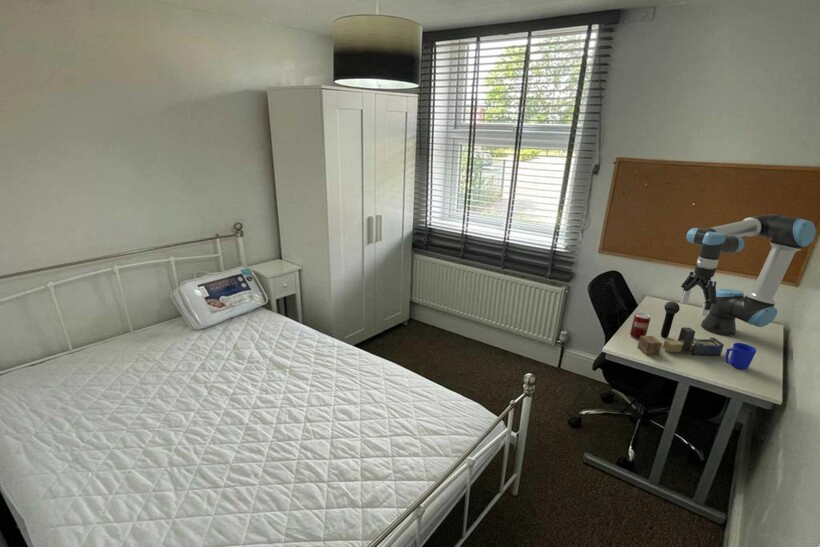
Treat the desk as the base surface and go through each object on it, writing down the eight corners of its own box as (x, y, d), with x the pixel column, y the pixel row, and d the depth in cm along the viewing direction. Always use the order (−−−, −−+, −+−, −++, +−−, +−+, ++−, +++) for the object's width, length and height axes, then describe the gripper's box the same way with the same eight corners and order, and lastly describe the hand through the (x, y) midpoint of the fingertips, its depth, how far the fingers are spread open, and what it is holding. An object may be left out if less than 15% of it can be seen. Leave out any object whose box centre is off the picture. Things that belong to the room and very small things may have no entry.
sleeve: (710, 349, 197) (713, 337, 195) (720, 356, 191) (724, 344, 189) (684, 348, 197) (687, 337, 195) (693, 355, 191) (697, 343, 188)
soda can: (647, 340, 203) (652, 319, 199) (632, 339, 205) (637, 317, 201) (642, 334, 210) (647, 313, 206) (627, 332, 211) (632, 311, 207)
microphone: (661, 333, 212) (670, 298, 205) (674, 338, 206) (684, 303, 200) (653, 335, 209) (663, 300, 202) (666, 341, 204) (676, 305, 197)
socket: (650, 347, 197) (653, 335, 194) (658, 355, 190) (662, 343, 188) (637, 347, 196) (640, 335, 194) (645, 355, 190) (648, 342, 188)
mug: (714, 361, 186) (721, 342, 183) (738, 361, 187) (745, 342, 184) (729, 371, 178) (736, 352, 175) (754, 371, 179) (761, 351, 176)
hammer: (711, 348, 195) (718, 328, 192) (717, 352, 192) (724, 332, 188) (662, 347, 195) (668, 327, 191) (667, 351, 191) (673, 331, 187)
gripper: (679, 257, 191) (669, 298, 198) (718, 275, 167) (704, 321, 174) (695, 258, 191) (683, 299, 198) (735, 276, 167) (721, 321, 175)
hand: (693, 309), depth 186 cm, fingers open, 13 cm apart
